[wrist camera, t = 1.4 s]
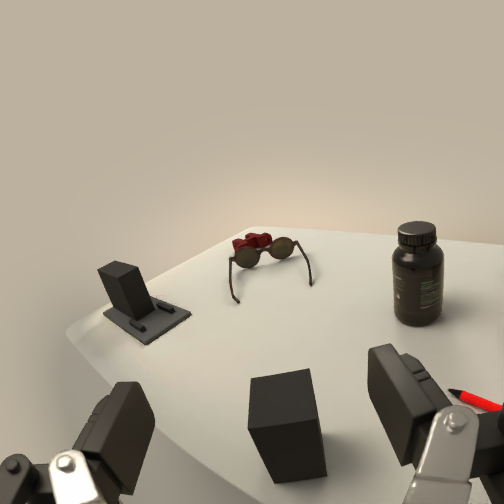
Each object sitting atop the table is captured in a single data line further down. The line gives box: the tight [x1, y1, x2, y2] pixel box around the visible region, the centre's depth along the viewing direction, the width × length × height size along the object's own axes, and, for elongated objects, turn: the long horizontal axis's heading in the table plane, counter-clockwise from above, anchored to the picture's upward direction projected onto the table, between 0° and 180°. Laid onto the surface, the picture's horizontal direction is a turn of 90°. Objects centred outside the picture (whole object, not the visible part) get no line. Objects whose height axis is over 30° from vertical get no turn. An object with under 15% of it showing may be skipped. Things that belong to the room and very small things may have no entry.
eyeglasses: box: [229, 237, 312, 303], centre depth 58 cm, size 15×15×5 cm
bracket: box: [232, 233, 273, 253], centre depth 76 cm, size 3×6×10 cm
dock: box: [98, 261, 191, 345], centre depth 55 cm, size 10×20×10 cm, turn 48°
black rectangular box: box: [248, 368, 327, 483], centre depth 22 cm, size 4×5×9 cm
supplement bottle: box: [392, 221, 444, 326], centre depth 35 cm, size 7×7×12 cm
